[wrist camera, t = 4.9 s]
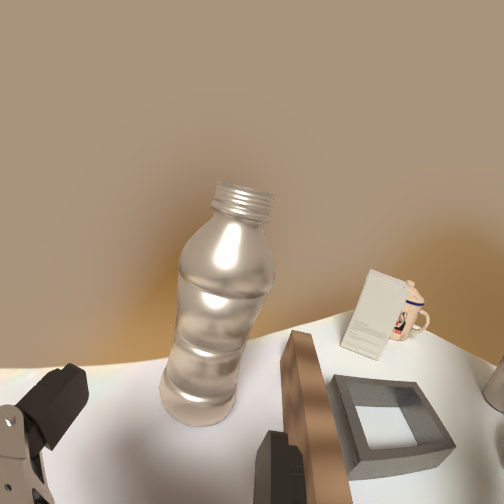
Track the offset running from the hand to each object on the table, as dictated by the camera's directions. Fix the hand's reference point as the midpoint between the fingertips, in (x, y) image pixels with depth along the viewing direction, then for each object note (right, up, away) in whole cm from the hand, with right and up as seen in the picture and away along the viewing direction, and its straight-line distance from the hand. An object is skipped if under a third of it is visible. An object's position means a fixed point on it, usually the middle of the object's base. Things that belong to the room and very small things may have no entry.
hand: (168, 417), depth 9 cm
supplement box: (+22, -10, +34) cm, 41 cm away
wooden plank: (+8, -11, +13) cm, 18 cm away
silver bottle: (-2, -8, +13) cm, 15 cm away
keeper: (+17, -13, +13) cm, 25 cm away
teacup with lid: (+34, -11, +41) cm, 54 cm away
